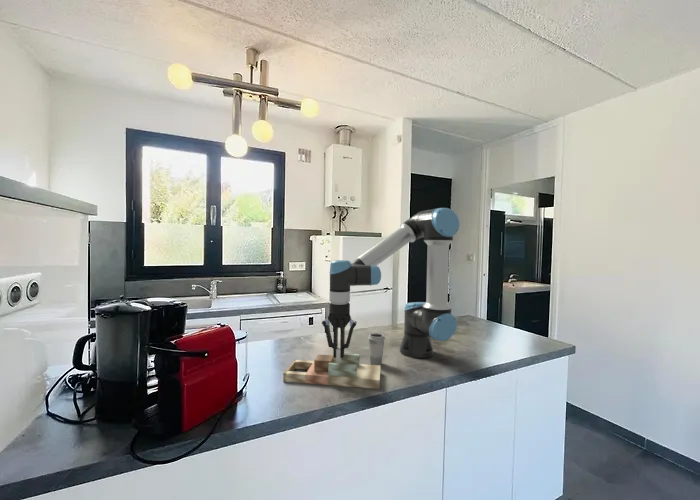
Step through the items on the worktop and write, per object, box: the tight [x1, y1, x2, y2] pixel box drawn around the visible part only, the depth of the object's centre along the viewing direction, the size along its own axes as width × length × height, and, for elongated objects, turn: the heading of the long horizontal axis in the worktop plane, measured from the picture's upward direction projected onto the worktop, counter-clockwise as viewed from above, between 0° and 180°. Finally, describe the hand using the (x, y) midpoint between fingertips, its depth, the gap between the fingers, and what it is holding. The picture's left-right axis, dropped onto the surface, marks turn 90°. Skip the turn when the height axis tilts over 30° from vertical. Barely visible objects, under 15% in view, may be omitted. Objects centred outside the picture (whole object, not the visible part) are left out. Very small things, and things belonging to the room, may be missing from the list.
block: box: [313, 353, 334, 372], centre depth 115 cm, size 6×6×4 cm
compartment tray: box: [282, 352, 381, 390], centre depth 114 cm, size 34×13×7 cm, turn 83°
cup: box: [367, 332, 386, 366], centre depth 128 cm, size 7×7×12 cm
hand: (338, 366), depth 114 cm, fingers closed
